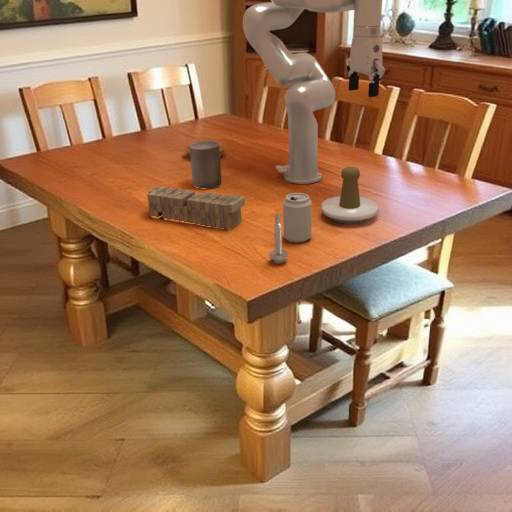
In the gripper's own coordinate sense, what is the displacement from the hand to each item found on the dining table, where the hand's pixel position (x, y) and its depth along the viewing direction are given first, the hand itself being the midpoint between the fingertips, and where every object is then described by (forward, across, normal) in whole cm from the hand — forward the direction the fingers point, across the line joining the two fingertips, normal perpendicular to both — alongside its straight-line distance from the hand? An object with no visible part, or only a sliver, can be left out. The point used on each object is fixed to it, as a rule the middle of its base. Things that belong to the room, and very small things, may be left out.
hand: (363, 93), depth 198 cm
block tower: (+33, +8, +52) cm, 61 cm away
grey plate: (+31, -14, +13) cm, 36 cm away
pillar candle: (+33, +34, +36) cm, 60 cm away
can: (+32, -19, +33) cm, 50 cm away
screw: (+31, -29, +45) cm, 62 cm away
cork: (+28, -14, +12) cm, 34 cm away
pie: (+34, +65, +23) cm, 76 cm away
